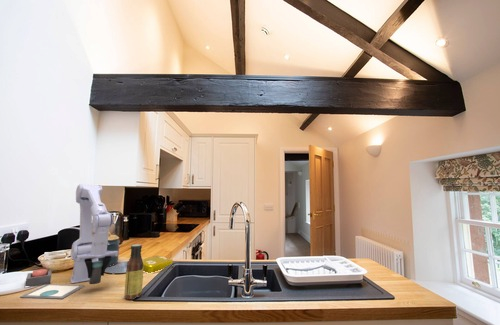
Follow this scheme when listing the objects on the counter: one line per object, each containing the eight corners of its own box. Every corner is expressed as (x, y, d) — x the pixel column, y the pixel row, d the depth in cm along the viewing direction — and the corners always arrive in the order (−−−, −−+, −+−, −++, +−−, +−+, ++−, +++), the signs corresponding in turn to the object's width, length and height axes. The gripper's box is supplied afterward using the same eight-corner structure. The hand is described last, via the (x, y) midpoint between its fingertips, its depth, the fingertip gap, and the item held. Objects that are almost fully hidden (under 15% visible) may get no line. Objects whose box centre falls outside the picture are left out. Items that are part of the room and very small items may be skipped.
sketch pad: (19, 297, 86) (20, 296, 86) (47, 285, 98) (47, 283, 98) (62, 299, 86) (62, 297, 86) (84, 286, 98) (84, 285, 98)
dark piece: (99, 279, 98) (102, 260, 99) (101, 282, 95) (103, 262, 96) (88, 281, 96) (91, 261, 97) (89, 285, 93) (92, 264, 94)
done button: (46, 275, 104) (47, 268, 104) (46, 278, 100) (47, 271, 101) (31, 277, 101) (33, 270, 101) (31, 280, 97) (32, 273, 98)
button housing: (50, 278, 106) (51, 270, 106) (50, 283, 100) (51, 275, 100) (26, 281, 101) (27, 273, 101) (24, 287, 95) (26, 279, 95)
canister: (113, 267, 123) (116, 233, 125) (86, 268, 120) (90, 233, 122) (121, 260, 135) (124, 230, 138) (96, 261, 133) (100, 229, 135)
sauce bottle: (144, 295, 92) (149, 244, 95) (132, 301, 87) (137, 247, 89) (132, 292, 95) (137, 242, 97) (119, 298, 89) (125, 245, 91)
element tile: (173, 268, 127) (174, 259, 128) (149, 275, 115) (150, 265, 115) (157, 262, 135) (157, 254, 136) (132, 269, 123) (133, 259, 124)
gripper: (79, 246, 90) (74, 283, 88) (120, 242, 99) (117, 275, 97) (78, 243, 95) (73, 277, 93) (117, 239, 105) (113, 270, 103)
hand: (95, 276), depth 96 cm, fingers closed on dark piece, 4 cm apart
